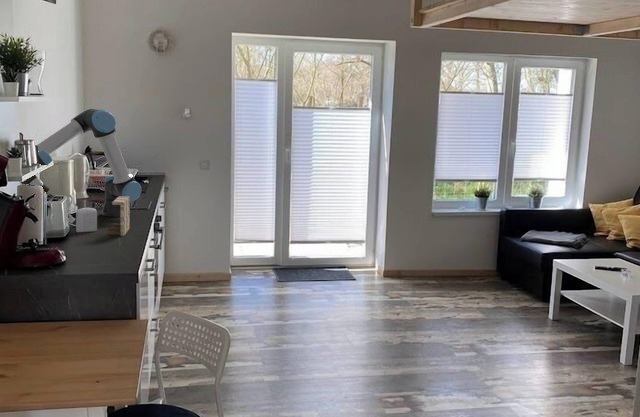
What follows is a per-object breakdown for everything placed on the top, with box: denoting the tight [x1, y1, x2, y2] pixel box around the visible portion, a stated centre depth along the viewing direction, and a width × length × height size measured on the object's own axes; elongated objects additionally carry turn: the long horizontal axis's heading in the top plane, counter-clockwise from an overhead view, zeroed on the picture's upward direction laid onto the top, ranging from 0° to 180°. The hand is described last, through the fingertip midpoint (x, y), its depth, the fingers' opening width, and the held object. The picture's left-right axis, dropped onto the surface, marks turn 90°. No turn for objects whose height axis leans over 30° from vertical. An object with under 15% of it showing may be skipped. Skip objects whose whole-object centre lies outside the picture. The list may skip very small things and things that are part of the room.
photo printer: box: [75, 207, 98, 233], centre depth 320 cm, size 10×4×12 cm, turn 123°
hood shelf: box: [107, 196, 131, 237], centre depth 322 cm, size 18×8×17 cm, turn 8°
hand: (73, 221), depth 319 cm, fingers closed
